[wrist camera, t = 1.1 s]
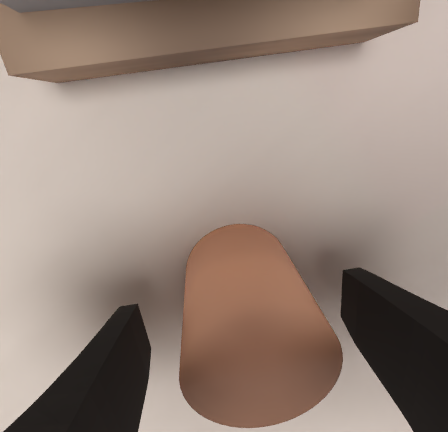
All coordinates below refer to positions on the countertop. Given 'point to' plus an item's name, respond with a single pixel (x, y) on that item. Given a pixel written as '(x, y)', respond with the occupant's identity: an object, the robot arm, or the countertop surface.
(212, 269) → the cylinder
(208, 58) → the tower base
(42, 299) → the countertop surface
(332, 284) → the countertop surface
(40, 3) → the tower top
